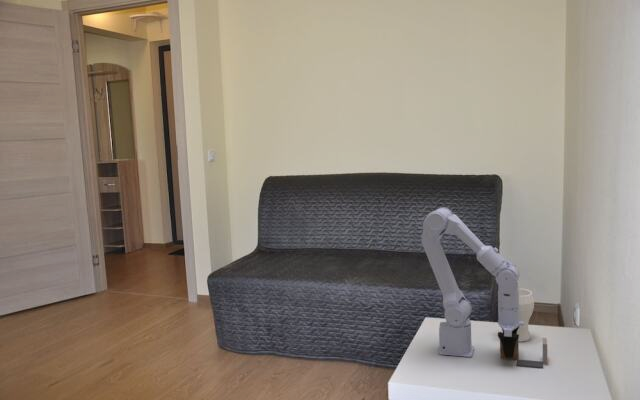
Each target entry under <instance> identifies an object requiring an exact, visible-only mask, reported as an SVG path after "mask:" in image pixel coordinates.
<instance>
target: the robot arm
mask: <svg viewBox="0 0 640 400" xmlns="http://www.w3.org/2000/svg"><path fill="white" fill-rule="evenodd" d="M422 226H423V228H422V233H421V244H422V247H423V250H424V251H425V252H424V253H425V254H426V256H427V259H428V262H429V265H430V267H431V270H432V272H433V274H434V277H435V279H436V282H437V285H438V288H439V289H440V291H441V293H442V307H443V309H444V314H443V315H444V319H445V321H441V322H439V326H438V327H439V328H438V337H439V339H438V340H439V342H438V343H439V355H442V356H454V357H466V358H472V357H473V354H474V349H475V346H474V345H472V344H473V343H472V321H471V319H470V315H471V314H472V311H473V307H472V303H471V302H470V301H469V300H468V299H467V298H466V297H465V294H464V293H463V291H462V290H461V289H460V288H459V286H458V284H457V281H456V278H455V276H454V273H453V271H452V268H451V267H450V263H449V261H448V259H447V257H446V254H445V251H444V248H443V246H442V244H441V239H442V238H443V235H444V234H447V235H453V236H456V237H457V238H459V239H460V240H461V241H462V243H464V244H465V245H467V247H469V248H470V249H471V250H472V251H473V252H474V253H475V254H476V260H477V261H478V262H479V263H480V264H481V265H482V266H483V267H484V268H485V269H486V270H487V271H488V272H489V273H490V274H491V275H492V276H494V277H495V281H496V284H497V286H498V288H497V289H498V291H497V307H498V308H497V309H498V311H497V312H498V313H497V314H498V320H497V324H498V326H499V327H500V328H501V330H502V332H501V331H498V332H497V337H498V340H499V342H500V341H501V343H502V346H503V351H504V355H505V357H509V358H513V355H514V349H515V344H516V342H517V340H518V338H519V335H516V333H517V331H518V328H519V327H520V326H523V325H524V322H523V321H519V291H518V288H519V283H518V281H519V278H520V270H519V269H518V268H517V266H516V264H513V263H511V261H510V260H506V259H505V258H504V257H503V256H502V255H501V254H500V253H499V249H498V248H497V247H493V246H492V245H485V244H484V243H483V242H482V241H481V240H480V239H479V238H478V236H476V234H474V233H473V232H472V230H471V229H470V228H468V226H467V225H466V224H465V223H464V222H463V221H462V220H461V218H460V217H458V215H456V214H455V213H453V212H452V210H451V209H449V208H448V207H438V208H437V209H436V210H434V211H431V212H429V213H428V214H427V215H426V217H425V218H424V220H423V222H422Z"/></svg>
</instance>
